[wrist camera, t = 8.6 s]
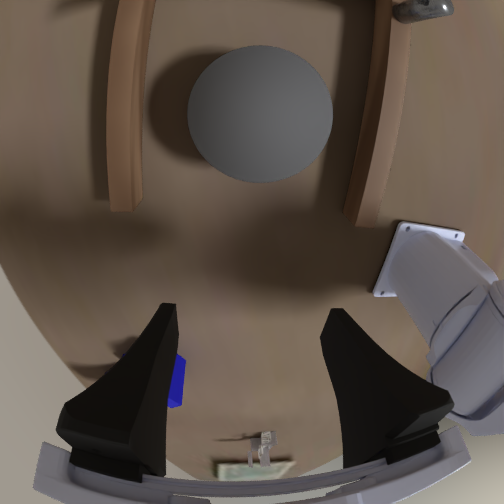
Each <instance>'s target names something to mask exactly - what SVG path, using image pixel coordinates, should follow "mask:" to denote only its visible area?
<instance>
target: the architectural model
mask: <svg viewBox="0 0 504 504" xmlns="http://www.w3.org/2000/svg"><path fill="white" fill-rule="evenodd" d="M250 441H251V451H248V463H249V467H251V468H253V463H252V451H258V454H260V455H259V458H260V464H261V467H264V466H270V459H269V451H268V450H270V448H271V447H272V446H274V445H277V438H276V431H274V432H270V431H269V432H264V433H263V432H262V434H261V438H250Z"/></svg>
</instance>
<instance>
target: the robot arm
mask: <svg viewBox="0 0 504 504" xmlns="http://www.w3.org/2000/svg"><path fill="white" fill-rule="evenodd" d="M406 227H408V228H407V229H406ZM464 236H465V233H464V232H463V231H460V230H454V229H449V228H443V227H437V226H431V225H424V224H418V223H411V222H405V221H402V222H400V223H399V224H398V226H397V229H396V232H395V235H394V238H393V241H392V244H391V246H390V249H389V252H388V254H387V257H386V260H385V262H384V265H383V267H382V270H381V272H380V275H379V277H378V280H377V282H376V285H375V287H374V289H373V295H374V296H375V297H389V296H397V297H398V298H399V300H400V301H401V303H402V304H403V306H404V307H405V309H406V310H407V312H408V313H409V315H410V316H411V318H412V320H413V321H414V323H415V324H416V326H417V328H418V329H419V331H420V332H421V334H422V336H423V337H424V339H425V341H426V342H427V344H428V346H429V347H430V351H429V353H428V354H427V355H426V358H427V360H428V362H429V363H430V365H431V367H430V368H429V370H428V372H427V376H426V380H424V379H422V378H421V377H419V376H417V375H416V374H414V373H413V372H411V371H410V370H408V369H407V368H405V367H404V366H402V365H401V364H400V363H398V362H397V361H396V360H395V359H393V358H392V357H391V356H390V355H388V354H387V353H386V352H385V351H384V350H383V349H382V348H381V347H380V346H379V345H377V344H376V343H375V342H374V341H373V340H372V339H371V338H370V337H369V336H368V335H367V334H366V332H365V331H364V330H363V329H362V328H361V327H360V326H359V325H358V324H357V323H356V322H355V321H354V320H353V319H352V318H351V316H350V315H349V314H348V313H347V312H346V311H345V310H344V309H343V308H331V310H330V313H329V315H328V318H327V321H326V323H325V326H324V328H323V331H322V333H321V336H320V340H321V346H322V352H323V356H324V360H325V363H326V366H327V369H328V372H329V375H330V379H331V382H332V385H333V388H334V391H335V395H336V399H337V404H338V410H339V416H340V423H341V431H342V443H343V469H341V470H337V471H332V472H327V473H321V474H315V475H309V476H302V477H295V478H287V479H277V480H264V481H241V482H220V481H197V480H184V479H173V478H166V477H164V476H165V475H166V421H167V405H168V397H169V391H170V386H171V380H172V376H173V371H174V366H175V361H176V356H177V348H178V338H179V331H178V322H177V311H176V304H172V303H162V304H160V306H159V308H158V310H157V311H156V313H155V314H154V316H153V318H152V319H151V321H150V322H149V324H148V325H147V326H146V328H145V329H144V331H143V332H142V333H141V335H140V336H139V338H138V339H137V340H136V341H135V343H134V344H133V345H132V346H131V348H130V349H129V350H128V351H127V352H126V353H125V355H124V356H123V357H122V358H121V359H120V360H119V361H118V362H117V363H116V364H115V365H114V366H113V367H112V368H111V369H110V370H109V371H108V372H107V373H106V374H105V375H103V376H102V377H101V378H100V379H99V380H97V381H96V382H95V383H94V384H92V385H91V386H90V387H88V388H87V389H86V390H84V391H83V392H82V393H80V394H78V395H77V396H75V397H74V398H72V399H71V400H69V401H67V402H66V403H65V404H64V407H63V408H62V411H61V413H60V416H59V419H58V423H57V426H56V432H57V434H58V435H59V436H60V437H61V438H62V439H63V440H65V441H66V442H67V443H68V444H69V445H71V446H72V452H71V453H70V452H69V451H67V450H64V449H62V448H59V447H56V446H54V445H51V444H49V443H46V442H43V443H42V446H41V450H40V454H39V459H38V463H37V468H36V473H35V478H34V484H33V488H34V489H35V490H37V491H38V492H40V493H43V494H45V495H47V496H49V497H51V498H54V499H56V500H58V501H60V502H63V503H65V504H211V503H210V500H208V499H202V498H194V497H187V496H178V495H188V496H201V497H255V496H271V495H280V494H290V493H297V492H304V491H310V490H316V489H321V488H326V487H331V486H335V485H340V484H344V483H348V482H352V481H356V480H359V479H360V480H359V481H356V482H353V483H350V484H346V485H343V486H341V487H340V488H338V489H336V490H334V491H332V492H329V493H326V496H323V497H319V498H312V499H306V500H300V501H294V502H285V503H277V504H394V503H397V502H399V501H401V500H403V499H405V498H408V497H410V496H412V495H414V494H416V493H418V492H420V491H422V490H424V489H426V488H428V487H430V486H431V485H433V484H435V483H437V482H439V481H440V480H442V479H444V478H446V477H447V476H449V475H451V474H452V473H454V472H456V471H457V470H459V469H460V468H462V467H463V466H465V465H467V464H468V463H470V462H471V457H470V455H469V452H468V450H467V447H466V444H465V442H464V440H463V437H462V435H461V432H460V430H459V428H458V426H457V425H456V426H454V427H452V428H450V429H448V430H445V431H444V432H442V433H440V434H438V433H437V431H436V430H438V429H439V425H438V422H439V421H440V420H441V419H442V418H444V417H447V418H448V419H451V420H453V421H456V422H457V423H459V424H461V425H462V426H463V427H464V428H465V429H466V430H467V431H468V432H469V433H470V434H471V435H472V436H486V435H495V434H504V280H498V278H497V276H496V274H495V273H494V271H493V270H492V269H491V268H490V267H489V266H488V265H487V264H486V263H484V262H483V261H482V260H481V259H480V258H479V257H478V256H477V255H476V254H475V253H474V252H473V251H472V250H471V249H470V248H468V247H467V246H466V245H465V244H464V243H463V242H462V241H463V239H464ZM173 494H177V495H173Z"/></svg>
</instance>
